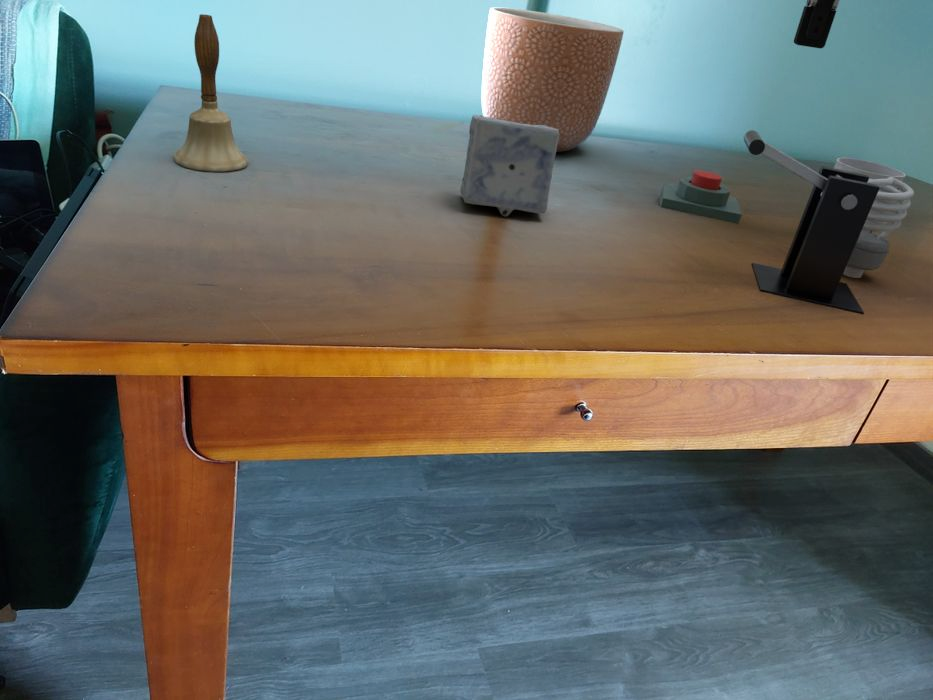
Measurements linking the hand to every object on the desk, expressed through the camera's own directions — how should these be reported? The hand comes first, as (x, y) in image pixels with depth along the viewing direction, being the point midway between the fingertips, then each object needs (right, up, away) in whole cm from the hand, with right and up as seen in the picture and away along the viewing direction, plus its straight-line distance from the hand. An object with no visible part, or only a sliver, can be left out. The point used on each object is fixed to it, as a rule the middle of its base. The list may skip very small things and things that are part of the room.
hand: (808, 45), depth 84 cm
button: (-8, -14, +12) cm, 20 cm away
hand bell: (-70, -13, +3) cm, 71 cm away
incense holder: (-35, -18, +4) cm, 40 cm away
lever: (-7, -18, -13) cm, 23 cm away
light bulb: (+4, -27, -1) cm, 28 cm away
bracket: (-4, -29, -8) cm, 31 cm away
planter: (-28, -1, +37) cm, 47 cm away
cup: (+10, -21, +13) cm, 26 cm away
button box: (-8, -17, +14) cm, 23 cm away
